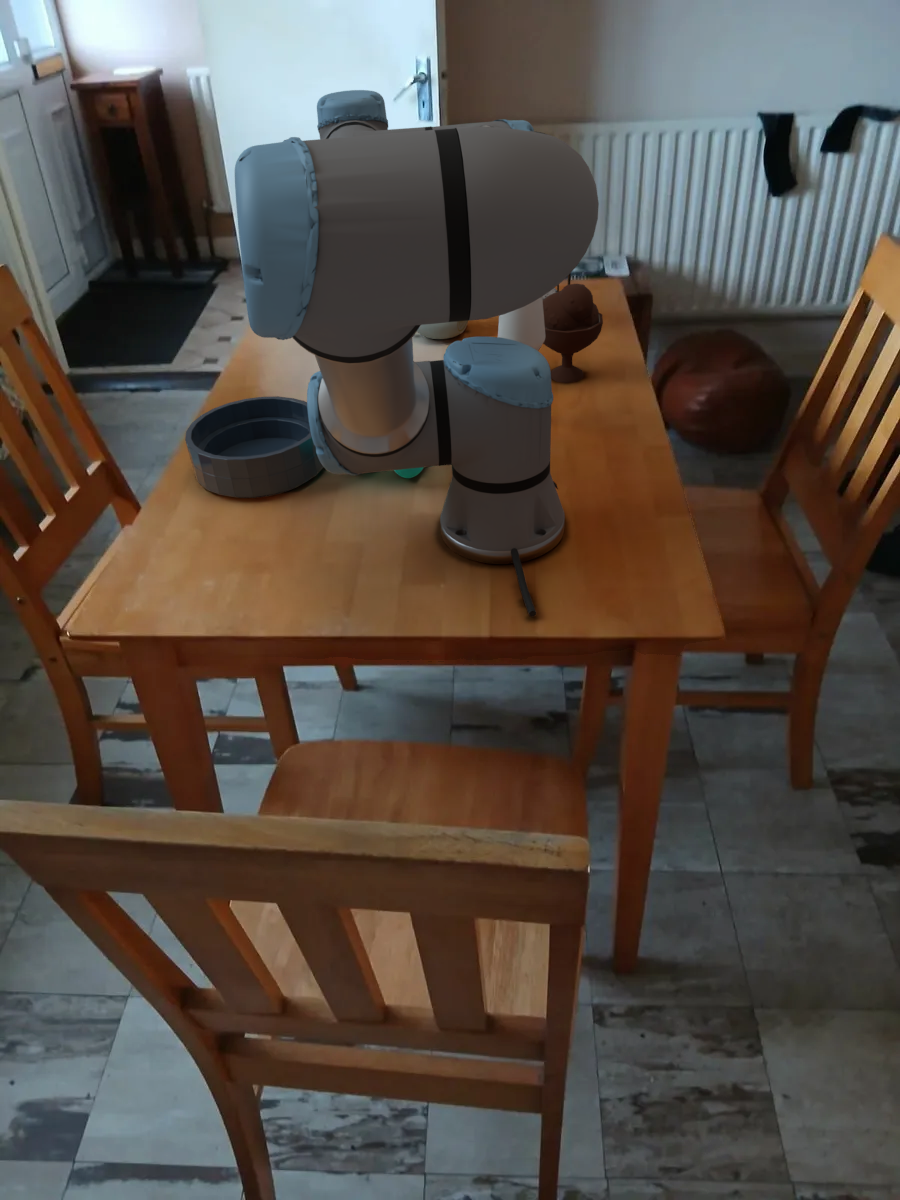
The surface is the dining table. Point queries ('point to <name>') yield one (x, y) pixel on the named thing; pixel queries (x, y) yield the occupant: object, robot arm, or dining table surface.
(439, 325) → the air freshener
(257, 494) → the bowl
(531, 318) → the white tapered vase
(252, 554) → the dining table surface
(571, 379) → the ice cream bowl
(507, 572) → the dining table surface
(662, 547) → the dining table surface
